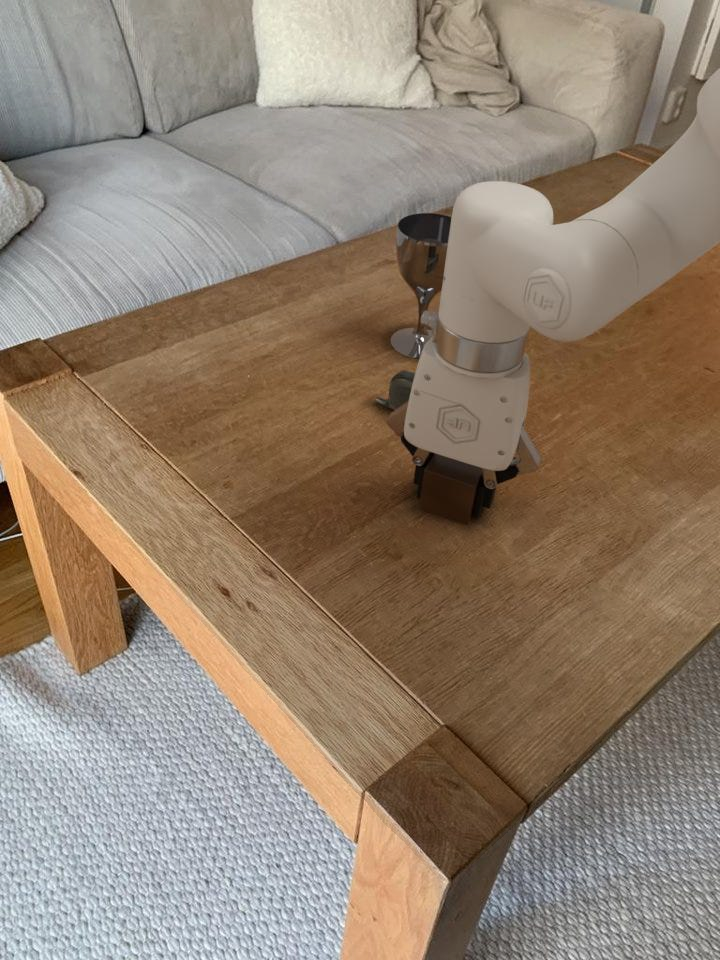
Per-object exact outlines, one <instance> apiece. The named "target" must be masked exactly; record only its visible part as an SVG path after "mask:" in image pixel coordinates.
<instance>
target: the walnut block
mask: <svg viewBox="0 0 720 960" xmlns="http://www.w3.org/2000/svg"><path fill="white" fill-rule="evenodd" d="M482 477H483V474H482V468H480V467H477V466H474V465H471V464H467V463H464V462H461V461H458V460H455V459H451V458H448V457H445V456H442V455H439V454H436V453H434V455H433V457H432V458H431V460H430V462H429V463H428V465H427V467H426V468H425V470H424V477H423V484H422V491H421V497H420V499H419V504H418V506H419V507H418V509H419V510H420V511H423V512H427V513H430V514H433V515H435V516H438V517H442V518H445V519H447V520H450V521H452V522H456V523H460V524H462V525H465V526H468V525H469V524H470V522H471V521H472V518H473V515H472V512H473V508H474V503H475V498H476V493H477V488H478V485H479V483H480V481H481V479H482Z"/></svg>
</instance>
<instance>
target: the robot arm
mask: <svg viewBox="0 0 720 960" xmlns="http://www.w3.org/2000/svg"><path fill="white" fill-rule="evenodd" d="M451 217H452V218H451V225H450V232H449V240H448V247H447V254H446V262H445V269H444V276H443V284H442V291H440V299H439V306H438V309H437V310H436V311H435V310H433V311H429V310H427V311H426V310H425V311H424V312H423V314H422V317H421V321H420V325H421V326H424V328H427V329H429V330H432V334H433V337H432V338H431V339H430V340H429V341H428V342H427V343H426V344H425V346H424V348H423V350H422V353H421V356H420V359H419V358H418V363H417V366H416V369H415V372H414V373H415V376H414V380H413V384H412V389H411V393H410V398H409V401H407V402H406V403H405V404H403V405H402V406H400V407H399V408H397V409H396V410H392V411H391V413H390V414H389V416H388V417H387V418H386V420H385V423H386V425H387V426H388V427H389V428H390V429H391V430H392V432H393V433H394V434H395V435H396V436H397V437H400V442H401V443H402V444H403V446H404V447H405V449H406V450H407V451H408V452H409V454H410V455H411V456H412V457H411V461H412V463H413V465H415V466H414V468H415V469H414V473H413V474H414V476H413V482H412V483H413V485H415V486H417V488H416V494H415V495H416V496H415V498H416V499H418V500H420V497H421V491H422V484H423V477H424V470H425V468H426V467H427V465H428V463H429V462H430V460H431V458H432V457H433V455H434V453H436V454H439V455H442V456H445V457H448V458H451V459H455V460H458V461H461V462H464V463H467V464H471V465H474V466H477V467H480V468H482V474H483V477H482V479H481V481H480V483H479V485H478V488H477V493H476V498H475V503H474V508H473V512H472V515H473V516H472V518H475V519H479V518H480V516H481V514H482V512H483V510H484V508H485V509H490V508H491V507H492V504H493V502H494V499H495V496H496V490H497V486H498V485H499V484H503V483H505V482H508V481H511V480H512V479H514V478H517V476H519V475H521V476H522V475H526V474H530V473H533V472H537V471H538V470H539V468H540V466H541V464H542V462H543V459H542V455H540V453H539V451H538V449H537V448H536V446H535V444H534V442H533V441H532V438H531V437H530V436H529V434H528V432H527V430H526V428H525V426H526V425H525V424H526V418H527V412H528V405H529V397H530V388H531V387H530V386H531V361H530V357H529V355H528V353H526V348H527V343H528V338H529V333H530V329H533V330H534V331H535V332H537V333H538V334H540V335H542V336H544V337H546V338H549V339H551V340H553V341H558V342H575V341H579V340H583V339H585V338H588V337H589V336H591V335H594V334H595V333H596V332H598V331H600V330H601V329H602V328H603V327H605V326H606V325H608V324H609V323H610V322H612V321H613V320H614V319H616V318H617V317H619V316H620V315H621V314H623V313H624V312H625V311H627V310H628V309H629V308H631V307H632V306H633V305H635V304H637V303H638V302H639V301H641V300H642V299H644V298H645V297H647V296H648V295H650V294H651V293H653V292H654V291H656V290H658V288H660V287H661V286H663V285H664V284H665V283H667V282H668V281H669V280H671V279H672V278H673V277H675V276H676V275H677V274H679V273H680V272H682V271H683V270H684V269H686V268H687V267H688V266H690V265H691V264H692V263H694V262H695V261H697V260H698V259H699V258H700V257H702V256H704V254H706V253H708V252H709V251H710V250H712V249H713V248H714V247H716V246H717V245H719V244H720V67H719V68H717V69H716V71H715V72H713V74H712V75H710V76H709V78H708V79H707V80H706V81H705V82H704V84H703V85H702V86H701V88H700V91H699V92H698V95H697V99H696V115H695V117H694V120H692V122H691V123H690V126H689V127H687V129H686V131H685V132H684V133H683V134H682V135H681V136H680V137H679V139H677V141H676V142H675V143H673V145H671V146H670V147H669V148H668V150H666V151H665V152H664V153H663V154H662V155H660V157H659V158H658V159H657V160H655V161H654V162H653V163H652V164H651V165H650V166H649V167H647V168H646V170H644V171H643V172H642V173H640V174H639V176H637V178H635V179H634V180H633V181H632V182H631V183H630V184H628V185H627V186H626V187H625V188H623V190H621V191H620V192H619V193H618V194H616V195H615V196H614V197H613V198H611V199H610V200H608V201H607V202H606V203H604V204H602V205H600V206H598V207H596V208H594V209H591V210H590V211H588V212H586V213H584V214H583V215H580V216H579V217H577V218H575V219H572V220H571V221H568V222H563V223H556V224H554V210H553V206H552V204H551V203H550V200H549V199H548V198H547V197H546V196H545V195H544V194H543V193H541V192H540V191H539V190H536V189H535V188H533V187H529V186H527V185H524V184H521V183H517V182H513V181H505V180H504V181H503V180H491V181H490V180H488V181H481V182H477V183H473V184H472V185H470V186H468V187H466V188H465V189H463V190H462V191H461V192H460V194H458V196H457V198H456V199H455V202H454V203H453V208H452V213H451ZM516 453H517V456H518V457H515V454H516ZM490 510H491V509H490Z"/></svg>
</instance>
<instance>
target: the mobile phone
mask: <svg viewBox="0 0 720 960" xmlns="http://www.w3.org/2000/svg"><path fill="white" fill-rule="evenodd" d="M414 376H415V372H414V371H410V370H405V369H404V370H401V371H399V372H397V373H396V374H395V375H393V377H391V380H390V382H389V387H388V398H387V399H384V398H382V397H379V396H377V397H376V398H375V399H374V402H375V403H377V404H379V405H382V406H383V407H385V408H388V409H391V410H392V411H395V410H396V409H397V408H399V407H400V406H402V405H403V404H405V403H406V402H407V401H409V398H410V393H411V389H412V384H413V380H414Z"/></svg>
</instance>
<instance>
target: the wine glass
mask: <svg viewBox="0 0 720 960" xmlns="http://www.w3.org/2000/svg"><path fill="white" fill-rule="evenodd" d="M451 218H452V216H448V215H445V214H440V213H433V212H432V213H431V212H421V213H420V212H419V213H413V214H409V215H407V216H404V217H402V218H401V219H400V220H399V221H398V223H397V228H396V229H397V230H396V240H395V241H396V244H395V250H396V251H395V253H396V262H397V267H398V271H399V274H400V276H401V278H402V280H403V282H405V284H406V285H407V286H408V287H409V289H411V291H412V292H413V294H414V296H415V297H416V300H417V305H418V308H417V309H418V319H417V320H418V322H417V327H406V328H402V329H399V330H397V331H395V332H394V333H393V334H392V335H391V337H390V339H389V342H390V346H391V347H392V348H393V349H394V350H395V351H396V352H397V353H399V354H401V355H402V356H405V357H408V358H412V359H418V360H419V359H420V356H421V353H422V350H423V348H424V346H425V344H426V343H427V342H428V341H429V340H430V339H431V338H432V337H433V334H432V330H429V329H428V328H425V327H424V326H421V325H420V321H421V317H422V314H423V312H424V311H425V310H426V311H429V310H428V309H429V306H430V304H431V302H432V300H433V299H434V298H435V297H436V295H438V294H439V293H441V291H442V284H443V276H444V269H445V262H446V254H447V247H448V240H449V232H450V225H451Z"/></svg>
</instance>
